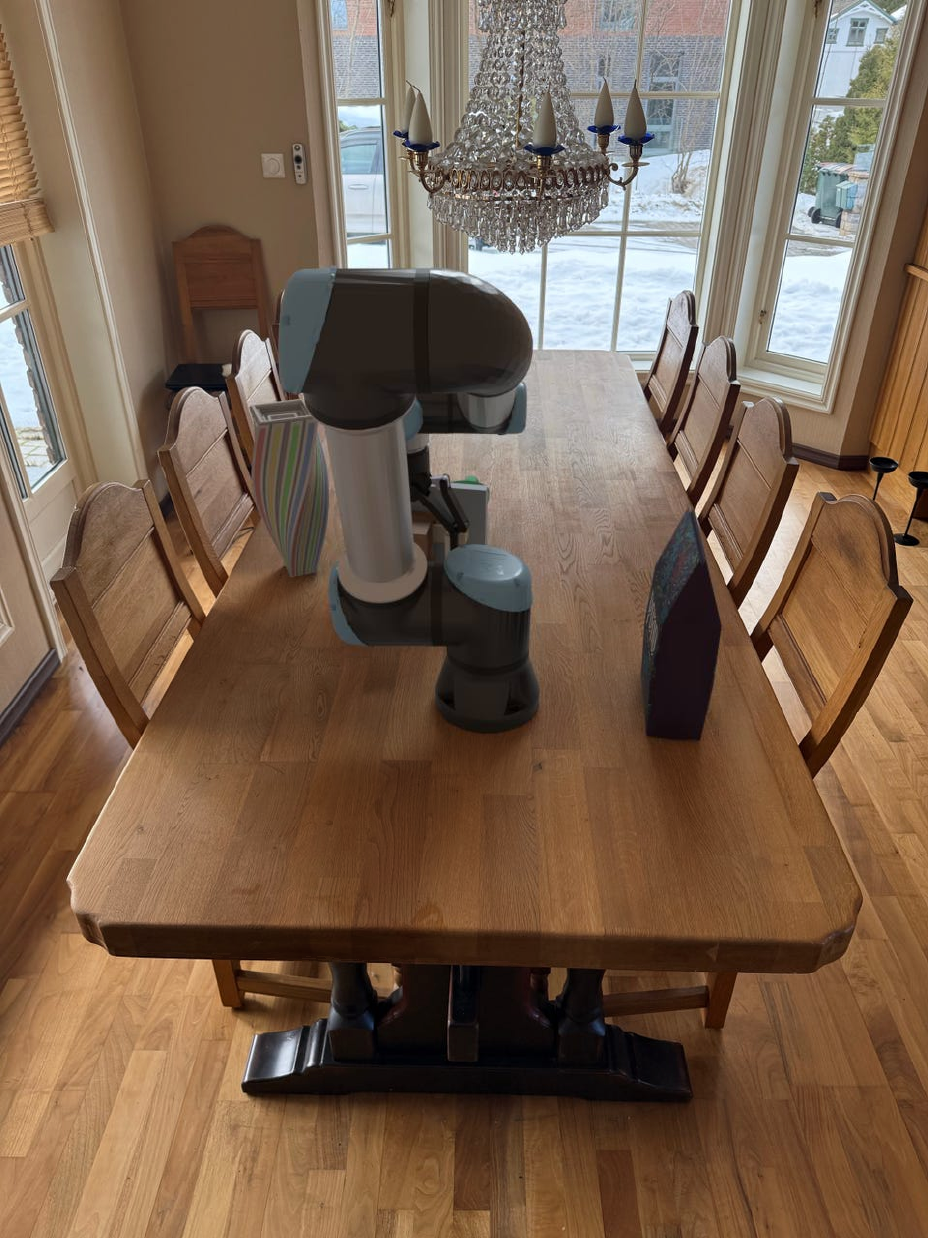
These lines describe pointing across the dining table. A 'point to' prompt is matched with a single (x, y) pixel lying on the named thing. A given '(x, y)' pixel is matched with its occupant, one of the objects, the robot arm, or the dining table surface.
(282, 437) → the vase
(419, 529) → the brown block
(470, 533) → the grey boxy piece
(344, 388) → the robot arm
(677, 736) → the decorative box
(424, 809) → the dining table surface
